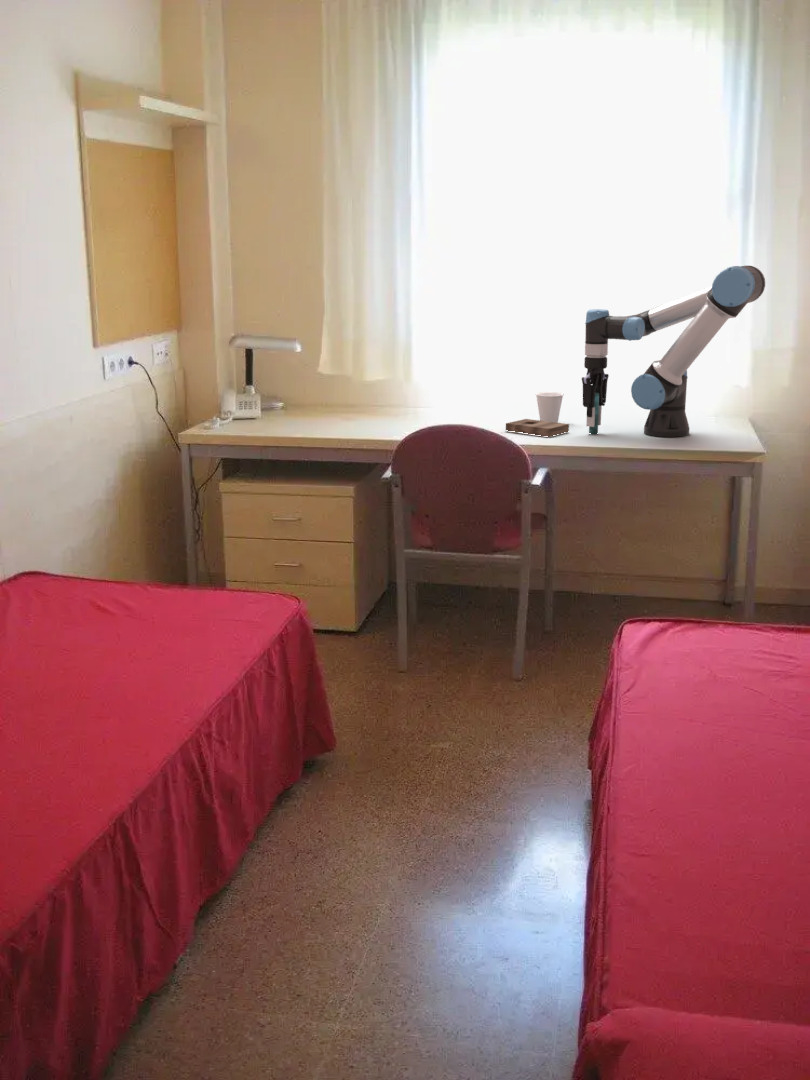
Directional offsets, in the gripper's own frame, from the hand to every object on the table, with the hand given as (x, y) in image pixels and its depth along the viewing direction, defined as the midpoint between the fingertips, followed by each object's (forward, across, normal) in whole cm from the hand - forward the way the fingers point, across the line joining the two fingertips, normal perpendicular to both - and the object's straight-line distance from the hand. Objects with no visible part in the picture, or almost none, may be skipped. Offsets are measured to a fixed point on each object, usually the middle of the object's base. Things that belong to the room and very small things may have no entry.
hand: (593, 425), depth 392 cm
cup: (+3, -7, -23) cm, 24 cm away
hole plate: (+3, +9, -17) cm, 19 cm away
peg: (+3, 0, 0) cm, 3 cm away
